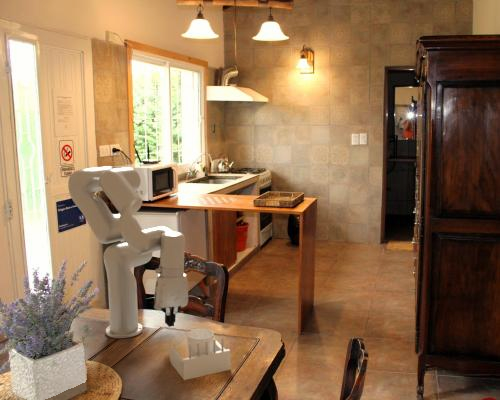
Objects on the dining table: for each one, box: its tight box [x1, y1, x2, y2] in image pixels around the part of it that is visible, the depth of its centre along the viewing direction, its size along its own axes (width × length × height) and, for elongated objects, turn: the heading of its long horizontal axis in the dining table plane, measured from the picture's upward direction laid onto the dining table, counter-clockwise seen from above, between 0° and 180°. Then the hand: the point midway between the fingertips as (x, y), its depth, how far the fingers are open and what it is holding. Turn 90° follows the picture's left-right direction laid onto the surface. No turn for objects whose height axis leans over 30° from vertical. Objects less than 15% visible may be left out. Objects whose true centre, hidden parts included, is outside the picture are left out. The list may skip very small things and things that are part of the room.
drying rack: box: [169, 337, 232, 381], centre depth 162 cm, size 13×14×10 cm
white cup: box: [186, 328, 215, 357], centre depth 162 cm, size 8×8×10 cm
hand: (170, 324), depth 175 cm, fingers closed
